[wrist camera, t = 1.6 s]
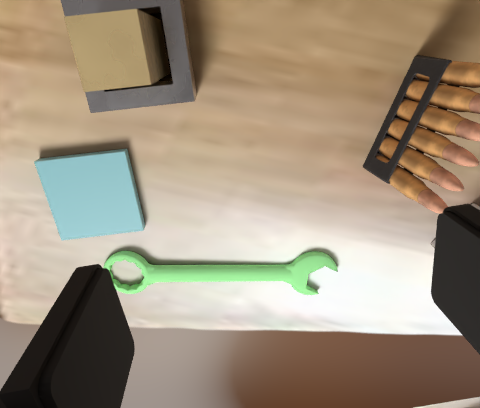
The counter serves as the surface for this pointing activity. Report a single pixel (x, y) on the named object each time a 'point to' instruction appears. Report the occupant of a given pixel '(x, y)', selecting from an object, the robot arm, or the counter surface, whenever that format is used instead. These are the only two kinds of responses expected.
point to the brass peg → (117, 49)
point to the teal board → (91, 193)
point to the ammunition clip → (426, 140)
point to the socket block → (179, 53)
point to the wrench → (224, 272)
